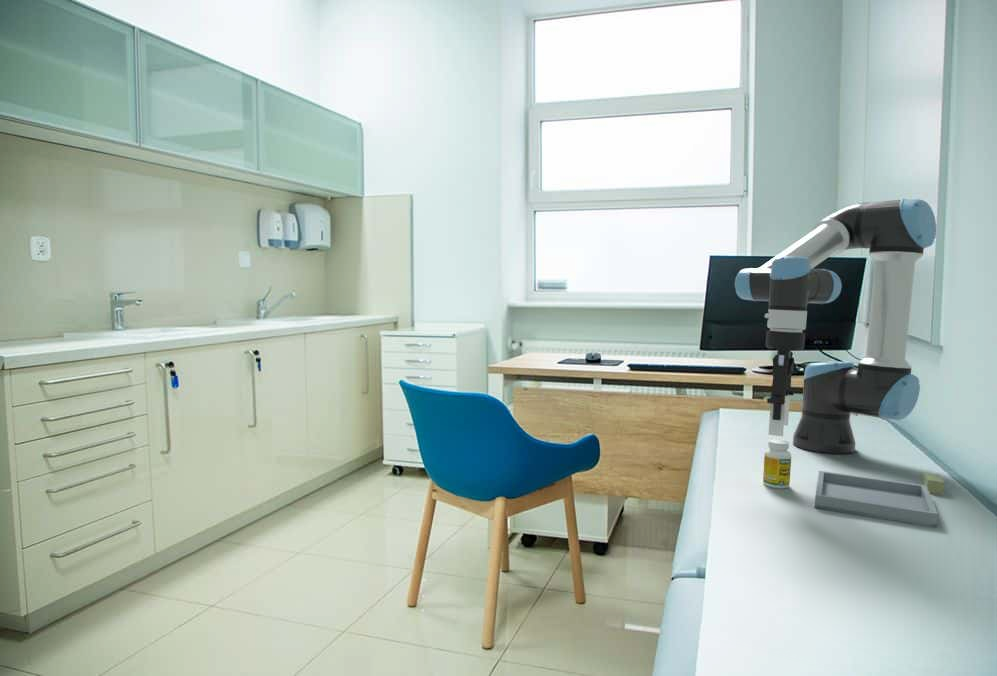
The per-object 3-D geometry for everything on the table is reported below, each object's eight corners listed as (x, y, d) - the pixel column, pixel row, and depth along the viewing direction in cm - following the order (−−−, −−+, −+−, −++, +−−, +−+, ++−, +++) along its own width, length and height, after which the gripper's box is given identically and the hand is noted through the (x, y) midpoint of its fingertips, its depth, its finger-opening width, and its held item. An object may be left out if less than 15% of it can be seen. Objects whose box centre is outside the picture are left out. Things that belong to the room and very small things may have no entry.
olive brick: (922, 486, 148) (923, 472, 147) (938, 488, 146) (939, 474, 146) (926, 493, 142) (928, 479, 142) (943, 496, 141) (944, 482, 141)
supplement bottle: (772, 480, 148) (775, 437, 147) (794, 486, 144) (797, 442, 143) (757, 483, 145) (760, 440, 144) (779, 490, 141) (782, 445, 140)
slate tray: (818, 481, 148) (819, 470, 148) (925, 497, 139) (926, 485, 139) (814, 507, 130) (815, 495, 130) (936, 527, 121) (938, 514, 121)
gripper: (772, 327, 155) (765, 418, 156) (760, 331, 132) (752, 437, 134) (808, 329, 151) (801, 422, 153) (801, 334, 129) (793, 443, 131)
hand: (778, 429), depth 143 cm, fingers open, 13 cm apart
